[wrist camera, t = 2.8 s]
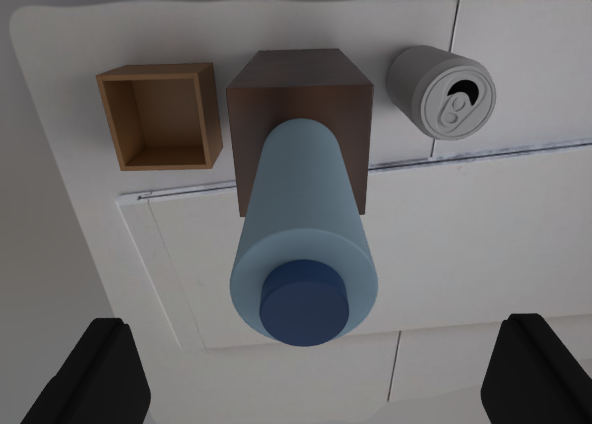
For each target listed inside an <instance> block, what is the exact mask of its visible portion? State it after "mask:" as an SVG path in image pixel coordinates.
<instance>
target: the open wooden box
mask: <svg viewBox="0 0 592 424" xmlns="http://www.w3.org/2000/svg"><path fill="white" fill-rule="evenodd" d="M96 79H97V82H98V86H99V90H100V94H101V98H102V101H103V105H104V109H105V113H106V116H107V120H108V124H109V128H110V131H111V135H112V139H113V143H114V146H115V150H116V154H117V158H118V161H119V165H120V169H121V171H140V170H185V169H212V167H213V165H214V163H215V161H216V159H217V157H218V156H219V154H220V152H221V150H222V148H223V144H222V135H221V127H220V119H219V111H218V103H217V95H216V87H215V79H214V70H213V63H193V64H156V65H125V66H122V67H119V68H116V69H113V70H110V71H107V72H104V73H101V74H99V75H96Z"/></svg>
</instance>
